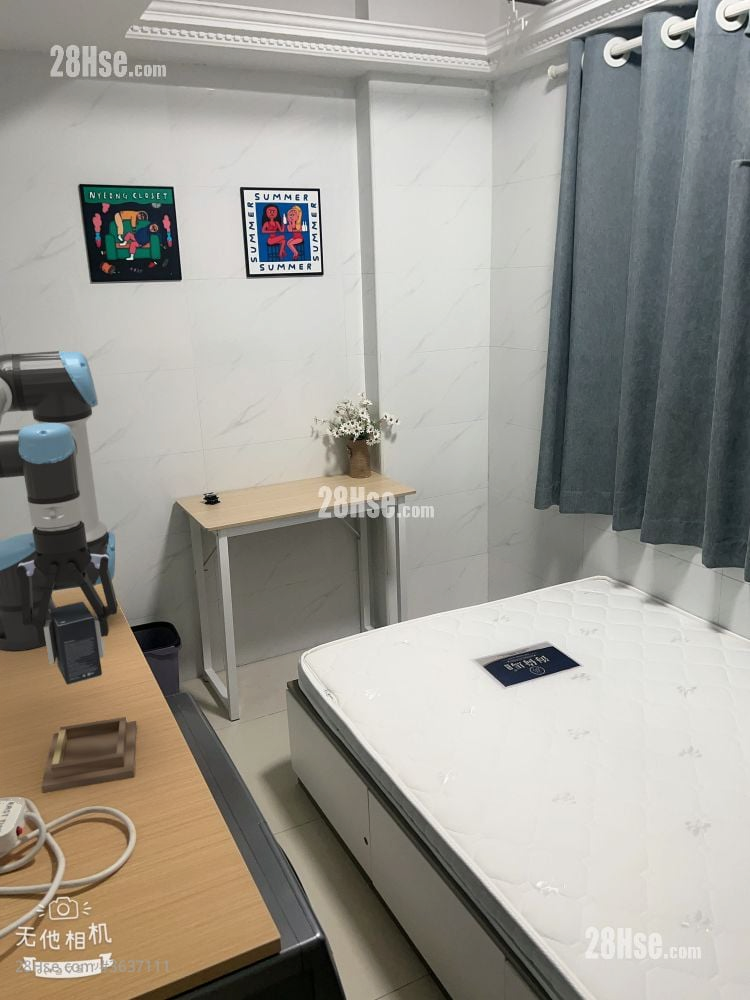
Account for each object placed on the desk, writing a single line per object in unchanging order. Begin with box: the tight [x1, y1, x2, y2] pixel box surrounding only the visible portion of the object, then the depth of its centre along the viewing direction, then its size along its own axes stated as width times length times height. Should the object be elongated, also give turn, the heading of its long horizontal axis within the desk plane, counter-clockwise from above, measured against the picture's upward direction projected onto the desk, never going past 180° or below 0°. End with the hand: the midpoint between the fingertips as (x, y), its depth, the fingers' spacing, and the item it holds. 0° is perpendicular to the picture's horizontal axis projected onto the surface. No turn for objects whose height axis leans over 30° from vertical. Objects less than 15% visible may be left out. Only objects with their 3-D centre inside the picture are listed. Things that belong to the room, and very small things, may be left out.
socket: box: [41, 716, 138, 794], centre depth 128 cm, size 15×14×3 cm
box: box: [49, 601, 103, 686], centre depth 122 cm, size 8×6×11 cm
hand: (77, 656), depth 123 cm, fingers closed on box, 7 cm apart
